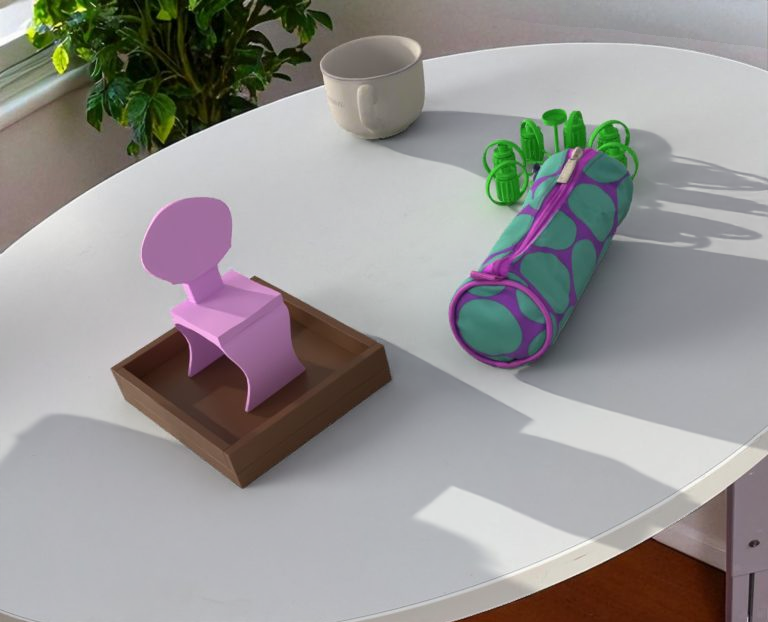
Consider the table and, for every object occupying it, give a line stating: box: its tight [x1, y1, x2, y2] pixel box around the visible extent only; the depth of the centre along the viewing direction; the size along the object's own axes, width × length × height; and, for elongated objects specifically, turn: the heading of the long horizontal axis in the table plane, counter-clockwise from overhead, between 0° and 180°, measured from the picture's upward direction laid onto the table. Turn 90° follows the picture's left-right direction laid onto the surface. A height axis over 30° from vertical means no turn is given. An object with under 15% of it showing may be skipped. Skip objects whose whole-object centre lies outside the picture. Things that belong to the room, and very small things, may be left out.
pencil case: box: [448, 147, 634, 370], centre depth 86 cm, size 21×9×10 cm, turn 154°
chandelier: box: [482, 108, 640, 207], centre depth 100 cm, size 15×15×7 cm
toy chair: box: [140, 196, 306, 412], centre depth 83 cm, size 8×9×15 cm
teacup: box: [319, 34, 426, 140], centre depth 113 cm, size 14×11×8 cm
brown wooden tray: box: [110, 275, 393, 490], centre depth 88 cm, size 18×16×4 cm
